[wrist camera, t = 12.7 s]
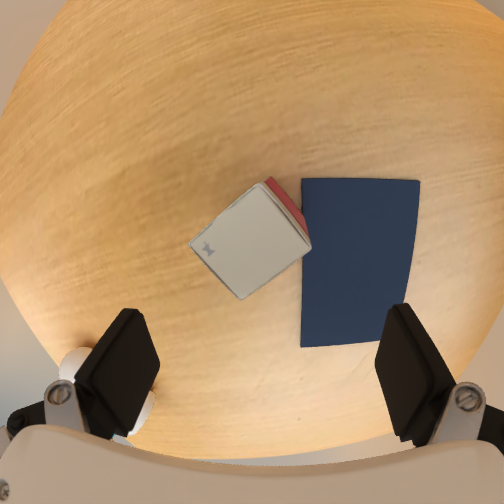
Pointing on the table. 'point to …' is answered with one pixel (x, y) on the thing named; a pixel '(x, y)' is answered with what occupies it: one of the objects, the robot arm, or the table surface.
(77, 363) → the white rounded piece
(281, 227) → the small box
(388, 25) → the table surface
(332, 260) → the cloth
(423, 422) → the robot arm
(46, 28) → the table surface
